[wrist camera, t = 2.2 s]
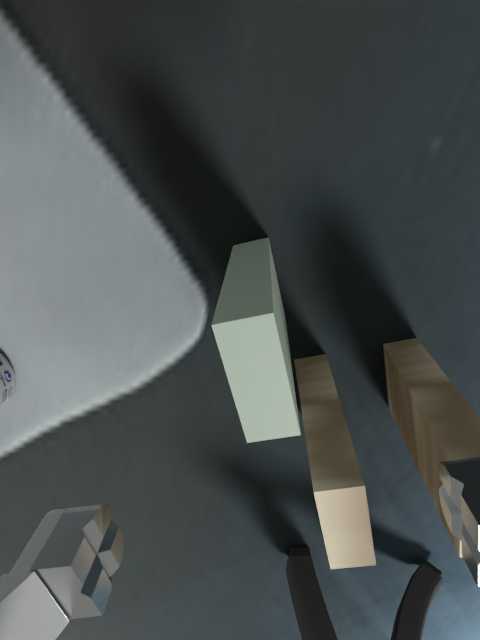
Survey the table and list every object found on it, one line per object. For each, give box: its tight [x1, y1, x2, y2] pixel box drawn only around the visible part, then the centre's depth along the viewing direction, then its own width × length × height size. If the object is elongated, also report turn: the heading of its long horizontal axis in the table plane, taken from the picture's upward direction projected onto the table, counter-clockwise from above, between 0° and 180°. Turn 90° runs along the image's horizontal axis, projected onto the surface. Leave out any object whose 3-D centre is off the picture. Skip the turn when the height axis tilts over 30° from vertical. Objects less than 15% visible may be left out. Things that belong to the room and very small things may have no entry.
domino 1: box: [212, 237, 301, 443], centre depth 17 cm, size 2×5×10 cm, turn 14°
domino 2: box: [294, 354, 376, 569], centre depth 20 cm, size 2×5×10 cm, turn 13°
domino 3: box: [383, 338, 480, 557], centre depth 19 cm, size 2×5×10 cm, turn 14°
